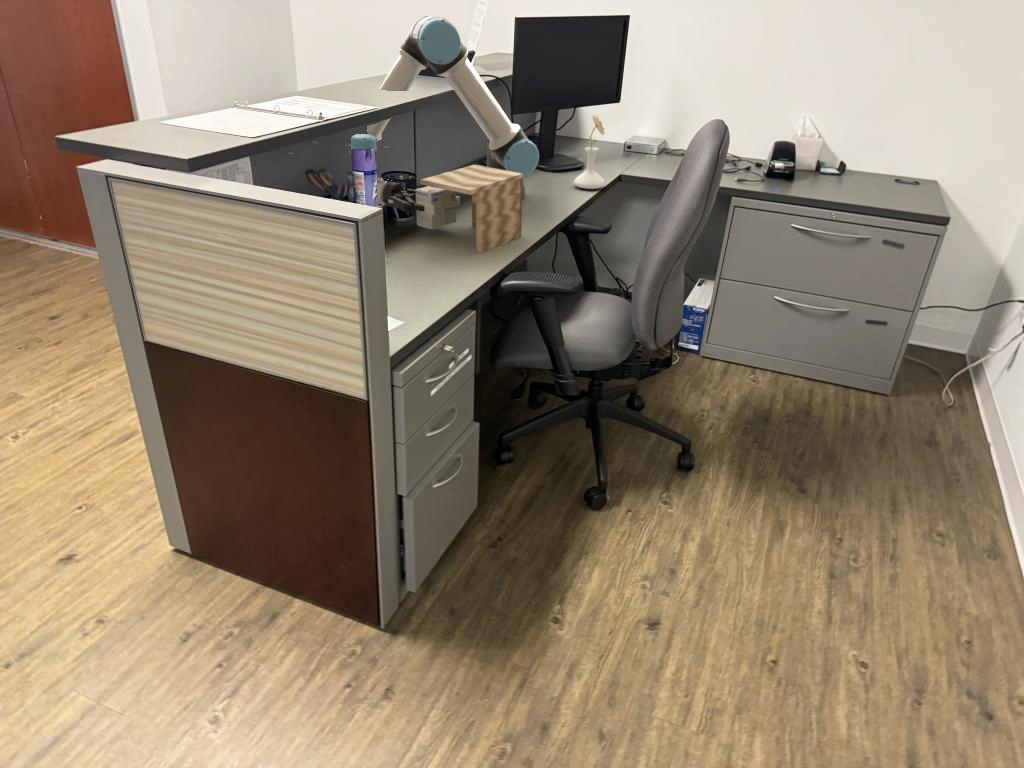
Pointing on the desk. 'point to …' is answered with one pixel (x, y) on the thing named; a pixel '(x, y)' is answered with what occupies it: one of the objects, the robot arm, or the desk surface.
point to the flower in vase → (591, 164)
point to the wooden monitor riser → (487, 201)
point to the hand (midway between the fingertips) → (447, 205)
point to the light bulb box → (436, 207)
